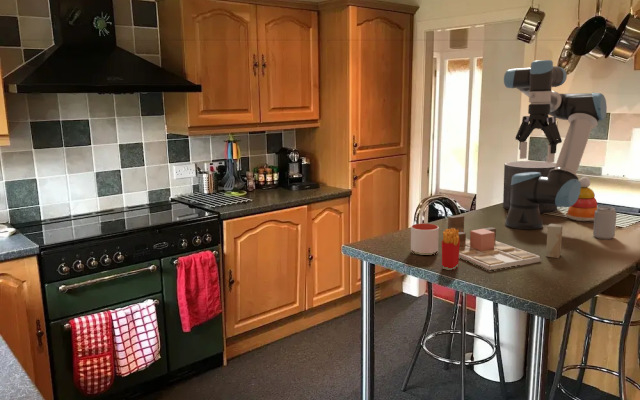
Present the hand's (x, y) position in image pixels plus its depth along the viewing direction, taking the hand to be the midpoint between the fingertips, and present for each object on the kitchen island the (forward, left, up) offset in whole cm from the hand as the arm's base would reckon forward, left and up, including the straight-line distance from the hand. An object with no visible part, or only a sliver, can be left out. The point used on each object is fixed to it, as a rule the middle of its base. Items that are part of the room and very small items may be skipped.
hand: (536, 160), depth 195 cm
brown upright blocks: (-3, -27, -31) cm, 41 cm away
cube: (+3, -27, -30) cm, 40 cm away
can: (+9, +28, -32) cm, 43 cm away
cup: (-7, -45, -32) cm, 56 cm away
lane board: (+8, -27, -32) cm, 42 cm away
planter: (-45, +43, -32) cm, 70 cm away
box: (+17, -7, -32) cm, 37 cm away
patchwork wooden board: (+7, -27, -31) cm, 42 cm away
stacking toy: (-16, +46, -32) cm, 58 cm away
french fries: (+11, -46, -32) cm, 57 cm away
